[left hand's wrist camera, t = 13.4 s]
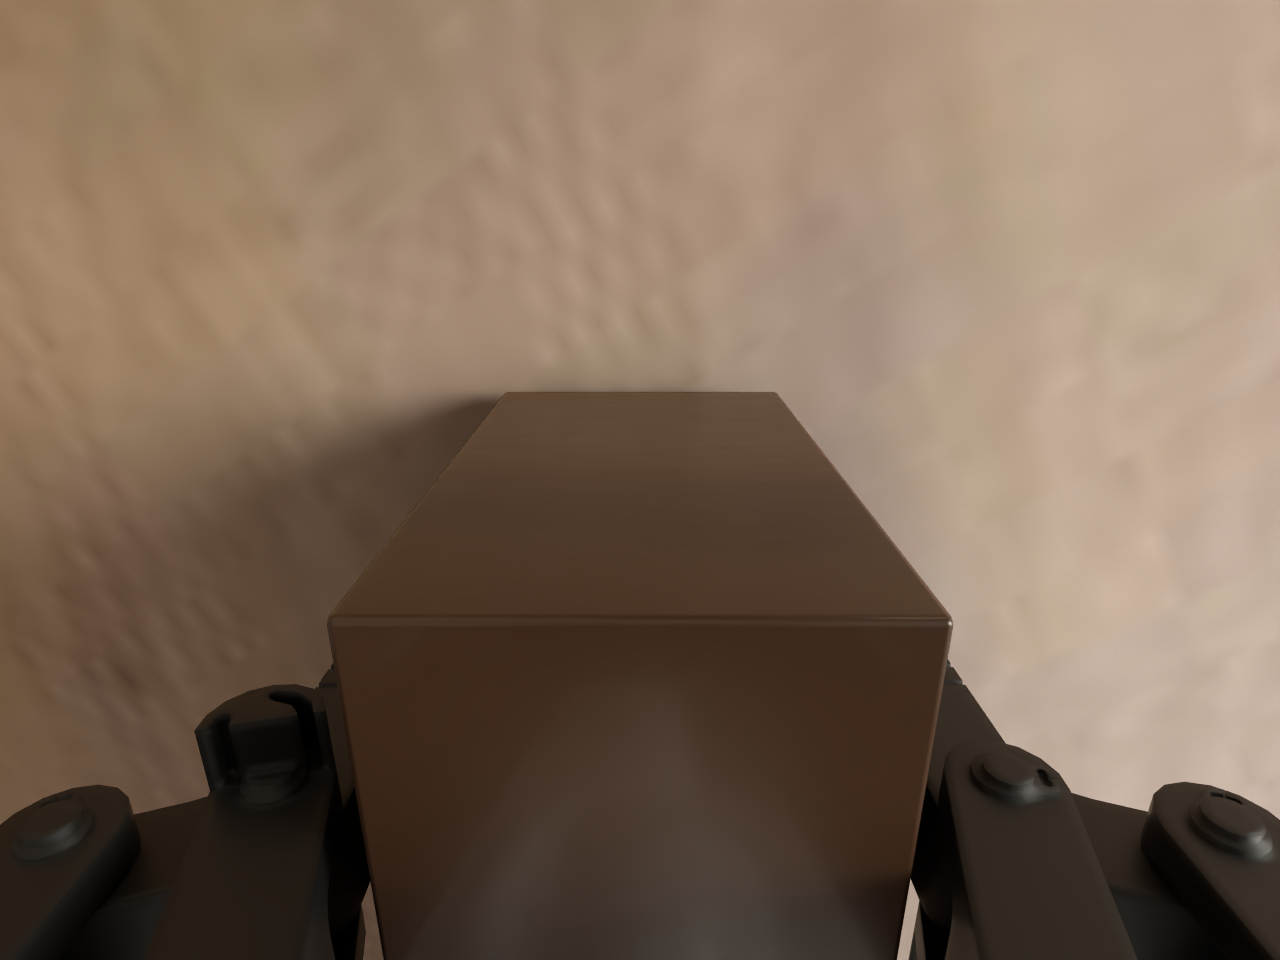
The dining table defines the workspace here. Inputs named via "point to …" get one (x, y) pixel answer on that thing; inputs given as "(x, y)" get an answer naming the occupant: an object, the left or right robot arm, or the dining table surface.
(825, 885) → the beam
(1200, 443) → the dining table surface
